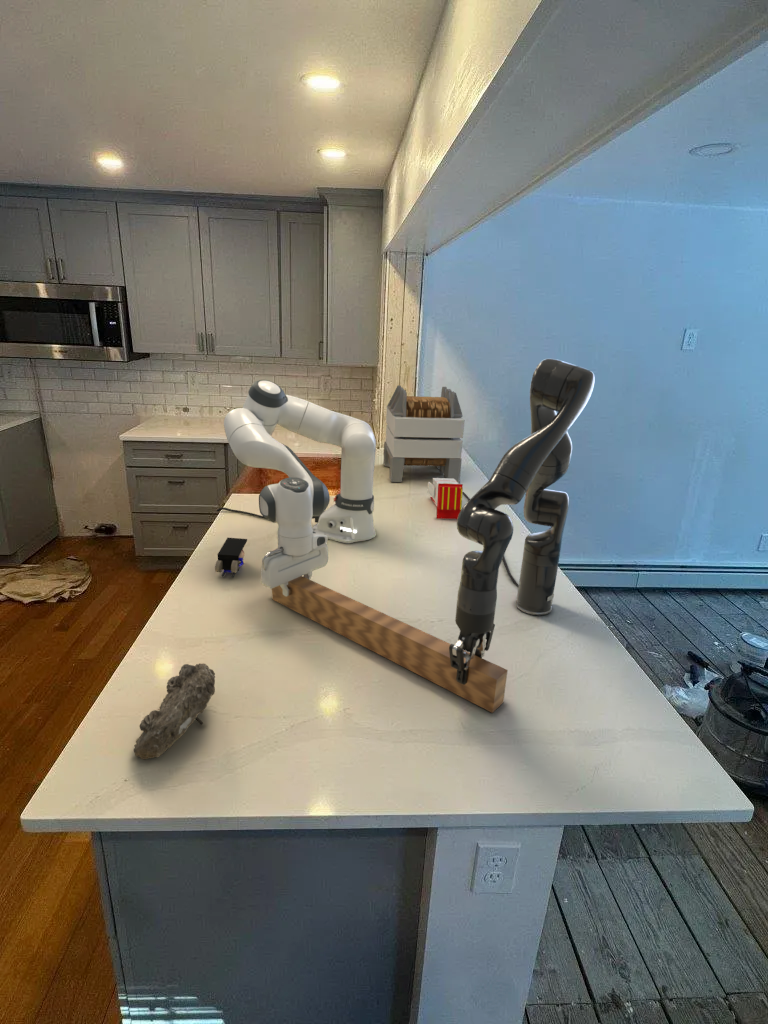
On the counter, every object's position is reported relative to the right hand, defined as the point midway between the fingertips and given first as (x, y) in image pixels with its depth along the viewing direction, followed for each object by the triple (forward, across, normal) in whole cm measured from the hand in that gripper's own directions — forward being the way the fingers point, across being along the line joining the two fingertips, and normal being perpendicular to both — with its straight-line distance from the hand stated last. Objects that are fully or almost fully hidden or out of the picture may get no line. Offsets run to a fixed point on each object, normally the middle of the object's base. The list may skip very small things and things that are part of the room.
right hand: (468, 676), depth 117 cm
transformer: (+5, +128, +107) cm, 167 cm away
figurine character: (+4, +1, +82) cm, 82 cm away
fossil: (+4, -44, +35) cm, 56 cm away
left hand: (0, 0, +53) cm, 53 cm away
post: (+4, 0, +26) cm, 27 cm away
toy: (+5, +94, +70) cm, 117 cm away
